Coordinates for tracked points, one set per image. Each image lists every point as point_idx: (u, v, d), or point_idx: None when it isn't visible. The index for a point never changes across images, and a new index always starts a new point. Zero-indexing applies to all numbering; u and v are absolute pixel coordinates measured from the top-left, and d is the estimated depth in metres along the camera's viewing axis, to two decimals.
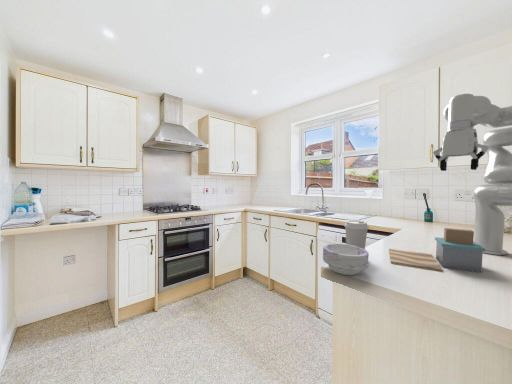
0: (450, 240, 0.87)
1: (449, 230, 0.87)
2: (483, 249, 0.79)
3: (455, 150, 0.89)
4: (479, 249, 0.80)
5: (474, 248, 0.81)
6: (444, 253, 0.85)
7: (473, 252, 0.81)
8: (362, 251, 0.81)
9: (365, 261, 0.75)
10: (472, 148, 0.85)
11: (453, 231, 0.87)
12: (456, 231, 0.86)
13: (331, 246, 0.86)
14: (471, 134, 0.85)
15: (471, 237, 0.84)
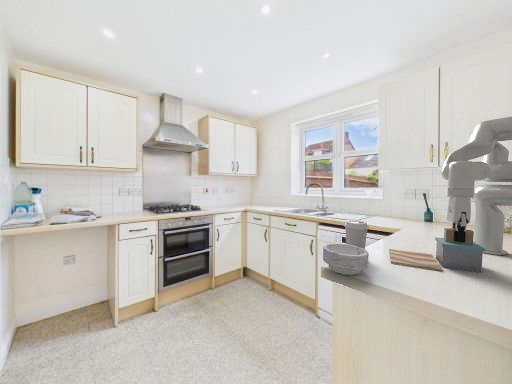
0: (450, 240, 0.87)
1: (449, 230, 0.87)
2: (483, 249, 0.79)
3: None
4: (479, 249, 0.80)
5: (474, 248, 0.81)
6: (444, 253, 0.85)
7: (473, 252, 0.81)
8: (362, 251, 0.81)
9: (365, 261, 0.75)
10: None
11: (453, 231, 0.87)
12: None
13: (331, 246, 0.86)
14: None
15: (471, 237, 0.84)
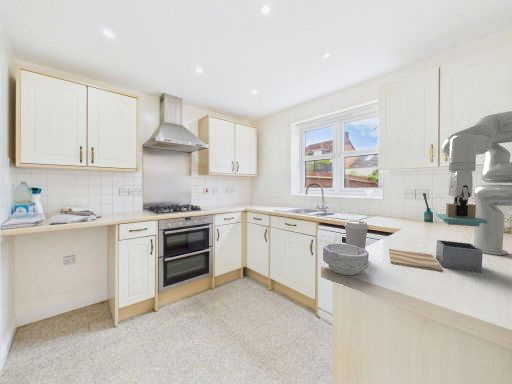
0: (452, 215, 0.87)
1: (451, 205, 0.87)
2: (485, 221, 0.79)
3: None
4: (481, 222, 0.80)
5: (476, 221, 0.81)
6: (444, 253, 0.85)
7: (473, 252, 0.81)
8: (362, 251, 0.81)
9: (365, 261, 0.75)
10: None
11: (455, 206, 0.87)
12: None
13: (331, 246, 0.86)
14: None
15: (473, 211, 0.84)
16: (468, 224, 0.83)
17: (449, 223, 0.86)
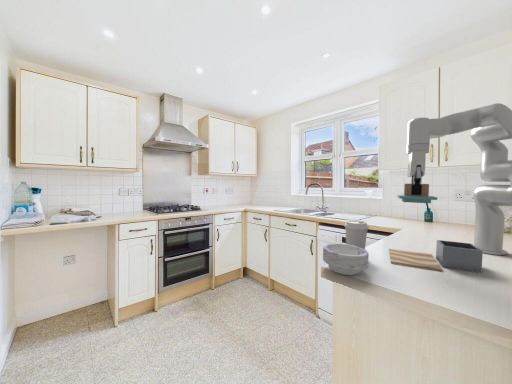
0: (408, 194, 0.92)
1: (407, 184, 0.92)
2: (435, 198, 0.85)
3: None
4: (432, 198, 0.85)
5: (428, 198, 0.86)
6: (444, 253, 0.85)
7: (473, 252, 0.81)
8: (362, 251, 0.81)
9: (365, 261, 0.75)
10: None
11: (411, 185, 0.92)
12: None
13: (331, 246, 0.86)
14: None
15: (427, 189, 0.89)
16: (421, 201, 0.88)
17: (404, 201, 0.91)
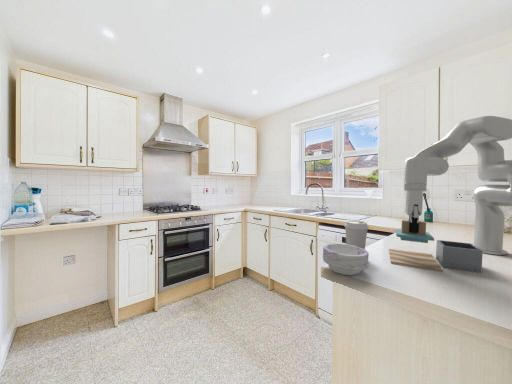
0: (406, 231, 0.93)
1: (405, 222, 0.93)
2: (432, 239, 0.85)
3: None
4: (429, 239, 0.86)
5: (424, 238, 0.87)
6: (444, 253, 0.85)
7: (473, 252, 0.81)
8: (362, 251, 0.81)
9: (365, 261, 0.75)
10: None
11: (408, 223, 0.93)
12: None
13: (331, 246, 0.86)
14: None
15: (424, 228, 0.90)
16: (418, 240, 0.89)
17: (402, 239, 0.92)
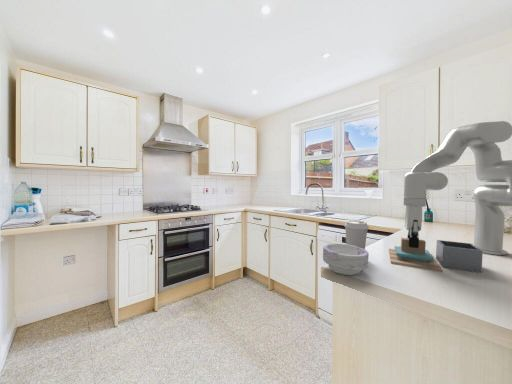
0: (405, 249, 0.94)
1: (404, 240, 0.94)
2: (432, 258, 0.86)
3: None
4: (428, 258, 0.86)
5: (424, 257, 0.87)
6: (444, 253, 0.85)
7: (473, 252, 0.81)
8: (362, 251, 0.81)
9: (365, 261, 0.75)
10: None
11: (408, 241, 0.93)
12: None
13: (331, 246, 0.86)
14: None
15: (423, 247, 0.91)
16: (418, 259, 0.89)
17: (401, 257, 0.92)
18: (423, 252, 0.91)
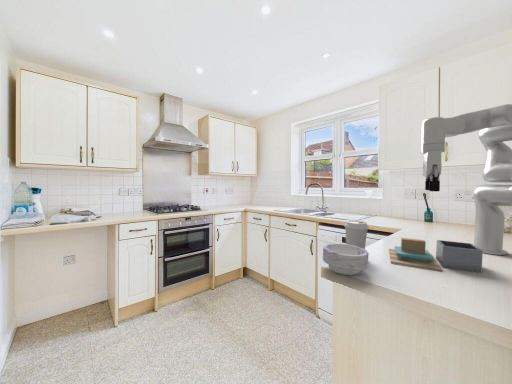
0: (405, 249, 0.94)
1: (404, 240, 0.94)
2: (432, 258, 0.86)
3: None
4: (428, 258, 0.86)
5: (424, 257, 0.87)
6: (444, 253, 0.85)
7: (473, 252, 0.81)
8: (362, 251, 0.81)
9: (365, 261, 0.75)
10: None
11: (408, 241, 0.93)
12: (410, 241, 0.93)
13: (331, 246, 0.86)
14: None
15: (423, 247, 0.91)
16: (418, 259, 0.89)
17: (401, 257, 0.92)
18: (423, 252, 0.91)
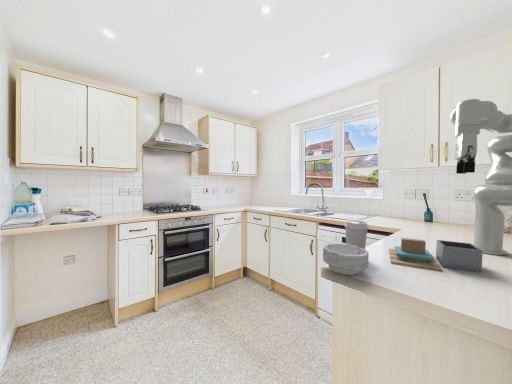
0: (405, 249, 0.94)
1: (404, 240, 0.94)
2: (432, 258, 0.86)
3: None
4: (428, 258, 0.86)
5: (424, 257, 0.87)
6: (444, 253, 0.85)
7: (473, 252, 0.81)
8: (362, 251, 0.81)
9: (365, 261, 0.75)
10: None
11: (408, 241, 0.93)
12: (410, 241, 0.93)
13: (331, 246, 0.86)
14: None
15: (423, 247, 0.91)
16: (418, 259, 0.89)
17: (401, 257, 0.92)
18: (423, 252, 0.91)
